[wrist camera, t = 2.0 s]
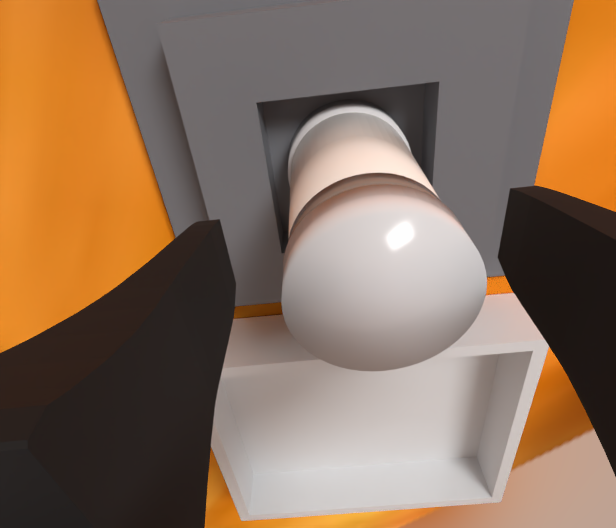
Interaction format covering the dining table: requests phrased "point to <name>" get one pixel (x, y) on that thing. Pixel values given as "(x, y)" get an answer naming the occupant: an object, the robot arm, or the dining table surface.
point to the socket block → (328, 88)
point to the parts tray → (373, 420)
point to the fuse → (372, 246)
